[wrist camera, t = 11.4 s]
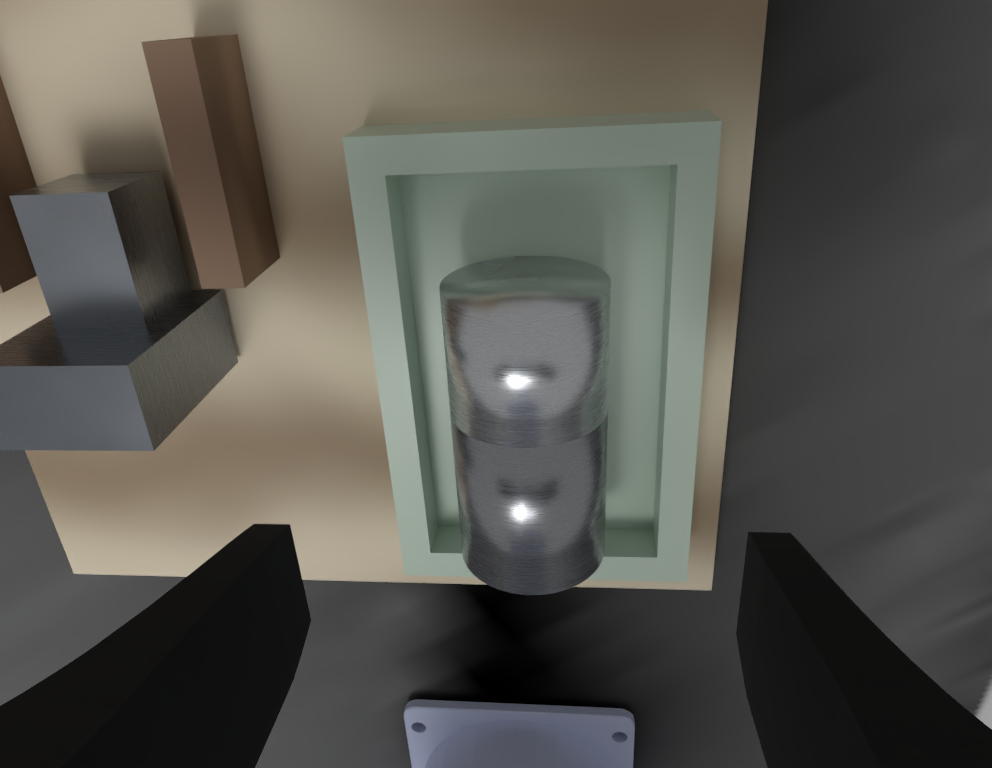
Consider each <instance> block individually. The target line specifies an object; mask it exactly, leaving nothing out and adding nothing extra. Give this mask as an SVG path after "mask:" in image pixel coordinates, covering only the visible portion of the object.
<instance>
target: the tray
mask: <svg viewBox="0 0 992 768" xmlns="http://www.w3.org/2000/svg"><path fill="white" fill-rule="evenodd" d="M721 126H722V121H721V120H720V119H719V118H718V117H717V116H716V115H714V114H713V113H712V112H711V111H710V110H704V111H682V112H659V113H637V114H615V115H593V116H571V117H549V118H527V119H505V120H482V121H460V122H438V123H416V124H394V125H372V126H361V127H360V128H358V129H356V130H354V131H353V132H351V133H349V134H347V135H346V136H344V137H342V139H343V146H344V153H345V160H346V167H347V174H348V181H349V188H350V195H351V202H352V209H353V216H354V223H355V230H356V237H357V244H358V251H359V258H360V265H361V272H362V279H363V286H364V293H365V300H366V307H367V314H368V321H369V328H370V335H371V342H372V349H373V356H374V363H375V370H376V377H377V384H378V391H379V399H380V406H381V413H382V420H383V427H384V434H385V441H386V448H387V455H388V462H389V469H390V476H391V483H392V490H393V497H394V504H395V511H396V518H397V525H398V532H399V539H400V546H401V553H402V560H403V567H404V574H405V575H417V576H457V577H476V576H474V575H473V573H472V572H471V571H470V570H469V569H468V567H467V566H466V564H465V561H464V559H463V554H462V545H461V533H460V522H459V510H458V499H457V487H456V475H455V464H454V452H453V440H452V429H451V417H450V406H449V394H448V382H447V371H446V359H445V348H444V336H443V324H442V313H441V301H440V290H439V287H440V283H441V281H442V280H443V279H444V277H446V276H447V275H448V274H450V273H451V272H453V271H455V270H457V269H459V268H461V267H464V266H467V265H470V264H473V263H477V262H481V261H485V260H491V259H497V258H504V257H514V256H552V257H562V258H569V259H575V260H579V261H583V262H587V263H590V264H592V265H595V266H597V267H599V268H601V269H602V270H604V271H605V272H606V273H607V274H608V275H609V277H610V279H611V299H610V343H609V388H608V432H607V477H606V521H605V552H604V557H603V560H602V562H601V564H600V566H599V567H598V569H597V570H596V571H595V572H594V573H593V574H592V575H591V576H590V577H589V578H588V579H586V580H617V581H657V582H687V573H688V560H689V547H690V534H691V521H692V507H693V494H694V481H695V468H696V455H697V442H698V429H699V415H700V402H701V389H702V376H703V363H704V350H705V337H706V323H707V310H708V297H709V284H710V271H711V258H712V245H713V231H714V218H715V205H716V192H717V179H718V166H719V153H720V139H721Z"/></svg>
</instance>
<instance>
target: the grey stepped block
mask: <svg viewBox="0 0 992 768" xmlns="http://www.w3.org/2000/svg"><path fill="white" fill-rule="evenodd" d="M9 197H10V200H11V202H12V205H13V208H14V211H15V214H16V217H17V220H18V223H19V225H20V228H21V231H22V234H23V237H24V240H25V243H26V246H27V249H28V251H29V254H30V257H31V260H32V263H33V266H34V269H35V272H36V275H37V277H38V280H39V283H40V286H41V289H42V292H43V295H44V298H45V300H46V303H47V306H48V309H49V312H50V315H49V316H48V317H46V318H44V319H43V320H41V321H39V322H37V323H36V324H34V325H32V326H31V327H29V328H27V329H26V330H24V331H22V332H21V333H19V334H17V335H16V336H14V337H12V338H10V339H9V340H7V341H5V342H4V343H2V344H0V450H64V451H155V449H156V448H157V447H158V446H159V445H160V444H161V443H162V442H163V441H164V440H165V439H166V438H167V437H168V436H169V435H170V434H171V433H172V432H173V430H174V429H175V428H176V427H177V426H178V425H179V424H180V423H181V422H182V421H183V420H184V419H185V418H186V417H187V416H188V415H189V414H190V413H191V411H192V410H193V409H194V408H195V407H196V406H197V405H198V404H199V403H200V402H201V401H202V400H203V399H204V398H205V397H206V396H207V395H208V393H209V392H210V391H211V390H212V389H213V388H214V387H215V386H216V385H217V384H218V383H219V382H220V381H221V380H222V379H223V378H224V377H225V376H226V374H227V373H228V372H229V371H230V370H231V369H232V368H233V367H234V366H235V365H236V364H237V363H238V358H237V354H236V350H235V345H234V341H233V337H232V332H231V328H230V324H229V320H228V315H227V311H226V307H225V302H224V298H223V294H222V290H191V289H190V285H189V281H188V277H187V273H186V269H185V265H184V261H183V257H182V253H181V250H180V246H179V242H178V238H177V234H176V230H175V226H174V222H173V218H172V214H171V210H170V206H169V202H168V198H167V194H166V190H165V186H164V182H163V178H162V174H161V171H140V172H114V173H89V174H71V175H68V176H66V177H63V178H60V179H57V180H54V181H51V182H48V183H45V184H42V185H39V186H36V187H33V188H30V189H27V190H24V191H22V192H19V193H16V194H13V195H10V196H9Z"/></svg>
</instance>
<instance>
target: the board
mask: <svg viewBox="0 0 992 768" xmlns="http://www.w3.org/2000/svg"><path fill="white" fill-rule="evenodd" d="M767 7H768V0H0V76H1V79H2V82H3V85H4V88H5V91H6V94H7V97H8V100H9V103H10V106H11V109H12V112H13V115H14V118H15V121H16V124H17V127H18V130H19V133H20V136H21V139H22V143H23V146H24V149H25V152H26V155H27V158H28V161H29V164H30V167H31V170H32V173H33V176H34V179H35V182H36V185H37V186H39V185H42V184H45V183H48V182H51V181H54V180H57V179H60V178H63V177H66V176H68V175H71V174H89V173H114V172H140V171H161V174H162V178H163V182H164V186H165V190H166V194H167V198H168V202H169V206H170V210H171V214H172V218H173V222H174V226H175V230H176V234H177V238H178V242H179V246H180V250H181V253H182V257H183V261H184V265H185V269H186V273H187V277H188V281H189V285H190V289H191V290H222V294H223V298H224V302H225V307H226V311H227V315H228V320H229V324H230V328H231V332H232V337H233V341H234V345H235V350H236V354H237V358H238V363H237V364H236V365H235V366H234V367H233V368H232V369H231V370H230V371H229V372H228V373H227V374H226V376H225V377H224V378H223V379H222V380H221V381H220V382H219V383H218V384H217V385H216V386H215V387H214V388H213V389H212V390H211V391H210V392H209V393H208V395H207V396H206V397H205V398H204V399H203V400H202V401H201V402H200V403H199V404H198V405H197V406H196V407H195V408H194V409H193V410H192V411H191V413H190V414H189V415H188V416H187V417H186V418H185V419H184V420H183V421H182V422H181V423H180V424H179V425H178V426H177V427H176V428H175V429H174V430H173V432H172V433H171V434H170V435H169V436H168V437H167V438H166V439H165V440H164V441H163V442H162V443H161V444H160V445H159V446H158V447H157V448H156V449H155V451H64V450H25V452H26V454H27V457H28V459H29V462H30V464H31V467H32V469H33V472H34V474H35V477H36V479H37V482H38V484H39V487H40V489H41V492H42V494H43V497H44V499H45V502H46V505H47V507H48V510H49V512H50V515H51V517H52V520H53V522H54V525H55V527H56V530H57V532H58V535H59V537H60V540H61V542H62V545H63V547H64V550H65V552H66V555H67V557H68V560H69V562H70V565H71V567H72V570H73V572H74V574H103V575H141V576H179V577H187V576H188V575H190V574H191V573H192V572H193V571H195V570H196V569H197V568H198V567H200V566H201V565H202V564H203V563H205V562H206V561H207V560H208V559H209V558H211V557H212V556H213V555H214V554H216V553H217V552H218V551H219V550H221V549H222V548H223V547H224V546H226V545H227V544H228V543H229V542H231V541H232V540H233V539H235V538H236V537H237V536H238V535H240V534H241V533H242V532H244V531H245V530H246V529H248V528H249V527H250V526H252V525H253V524H290V526H291V531H292V535H293V540H294V545H295V549H296V554H297V558H298V563H299V567H300V572H301V577H302V580H332V581H370V582H409V583H447V584H485V583H484V582H482V581H481V580H479V579H478V578H477V577H457V576H417V575H405V574H404V567H403V560H402V553H401V546H400V539H399V532H398V525H397V518H396V511H395V504H394V497H393V490H392V483H391V476H390V469H389V462H388V455H387V448H386V441H385V434H384V427H383V420H382V413H381V406H380V399H379V391H378V384H377V377H376V370H375V363H374V356H373V349H372V342H371V335H370V328H369V321H368V314H367V307H366V300H365V293H364V286H363V279H362V272H361V265H360V258H359V251H358V244H357V237H356V230H355V223H354V216H353V209H352V202H351V195H350V188H349V181H348V174H347V167H346V160H345V153H344V146H343V139H342V137H344V136H346V135H347V134H349V133H351V132H353V131H354V130H356V129H358V128H360V127H361V126H372V125H394V124H416V123H438V122H460V121H482V120H505V119H527V118H549V117H571V116H593V115H615V114H637V113H659V112H682V111H704V110H710V111H711V112H712V113H713V114H714V115H716V116H717V117H718V118H719V119H720V120H721V121H722V126H721V139H720V153H719V166H718V179H717V192H716V205H715V218H714V231H713V245H712V258H711V271H710V284H709V297H708V310H707V323H706V337H705V350H704V363H703V376H702V389H701V402H700V415H699V429H698V442H697V455H696V468H695V481H694V494H693V507H692V521H691V534H690V547H689V560H688V573H687V582H657V581H617V580H585V581H583V582H582V583H580V584H578V585H576V586H574V587H600V588H638V589H676V590H712V580H713V570H714V560H715V549H716V539H717V528H718V518H719V508H720V497H721V487H722V476H723V466H724V455H725V445H726V435H727V424H728V414H729V403H730V393H731V382H732V372H733V362H734V351H735V341H736V330H737V320H738V309H739V299H740V289H741V278H742V268H743V257H744V247H745V236H746V226H747V216H748V205H749V195H750V184H751V174H752V164H753V153H754V143H755V132H756V122H757V111H758V101H759V91H760V80H761V70H762V59H763V49H764V38H765V28H766V18H767ZM235 34H237V35H238V40H239V45H240V50H241V56H242V61H243V66H244V71H245V77H246V82H247V87H248V92H249V97H250V103H251V108H252V113H253V118H254V123H255V129H256V134H257V139H258V144H259V150H260V155H261V160H262V165H263V170H264V176H265V181H266V186H267V191H268V197H269V202H270V207H271V212H272V217H273V223H274V228H275V233H276V238H277V243H278V249H279V254H280V258H279V259H278V260H277V261H276V262H275V263H273V264H272V265H271V266H270V267H269V268H268V269H266V270H265V271H264V272H263V273H262V274H261V275H259V276H258V277H257V278H256V279H255V280H254V281H252V282H251V283H250V284H249V285H248V286H247V287H245V288H221V289H202V288H201V284H200V280H199V275H198V271H197V267H196V263H195V259H194V255H193V251H192V247H191V243H190V239H189V235H188V231H187V226H186V222H185V218H184V214H183V210H182V206H181V202H180V198H179V194H178V190H177V186H176V182H175V178H174V173H173V169H172V165H171V161H170V157H169V153H168V149H167V145H166V141H165V137H164V133H163V129H162V124H161V120H160V116H159V112H158V108H157V104H156V100H155V96H154V92H153V88H152V84H151V80H150V76H149V71H148V67H147V63H146V59H145V55H144V51H143V47H142V43H141V42H145V41H156V40H167V39H178V38H188V37H202V36H218V35H235ZM49 315H50V312H49V309H48V306H47V303H46V300H45V298H44V295H43V292H42V289H41V286H40V283H39V280H38V277H37V276H36V277H34V278H32V279H30V280H28V281H26V282H24V283H22V284H20V285H18V286H16V287H14V288H12V289H10V290H8V291H6V292H4V293H0V344H2V343H4V342H5V341H7V340H9V339H10V338H12V337H14V336H16V335H17V334H19V333H21V332H22V331H24V330H26V329H27V328H29V327H31V326H32V325H34V324H36V323H37V322H39V321H41V320H43V319H44V318H46V317H48V316H49ZM485 585H487V584H485Z"/></svg>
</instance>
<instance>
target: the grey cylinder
mask: <svg viewBox="0 0 992 768" xmlns="http://www.w3.org/2000/svg"><path fill="white" fill-rule="evenodd" d="M439 290H440V301H441V313H442V324H443V336H444V348H445V359H446V371H447V382H448V394H449V406H450V417H451V429H452V440H453V452H454V464H455V475H456V487H457V499H458V510H459V522H460V533H461V545H462V554H463V559H464V561H465V564H466V566H467V567H468V569H469V570H470V571H471V572H472V573H473V575H474V576H476V577H477V578H478V579H479V580H481V581H482V582H484V583H485V584H487V585H489V586H491V587H493V588H496V589H499V590H502V591H505V592H509V593H514V594H521V595H544V594H551V593H556V592H560V591H564V590H567V589H569V588H572V587H574V586H576V585H578V584H580V583H582V582H583V581H585V580H586V579H588V578H589V577H590V576H591V575H592V574H593V573H594V572H595V571H596V570H597V569H598V567H599V566H600V564H601V562H602V560H603V557H604V552H605V521H606V477H607V432H608V388H609V343H610V299H611V279H610V277H609V275H608V274H607V273H606V272H605V271H604V270H602V269H601V268H599V267H597V266H595V265H592V264H590V263H587V262H583V261H579V260H575V259H569V258H562V257H552V256H514V257H504V258H497V259H491V260H485V261H481V262H477V263H473V264H470V265H467V266H464V267H461V268H459V269H457V270H455V271H453V272H451V273H450V274H448V275H447V276H446V277H444V279H443V280H442V281H441V283H440V287H439Z"/></svg>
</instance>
